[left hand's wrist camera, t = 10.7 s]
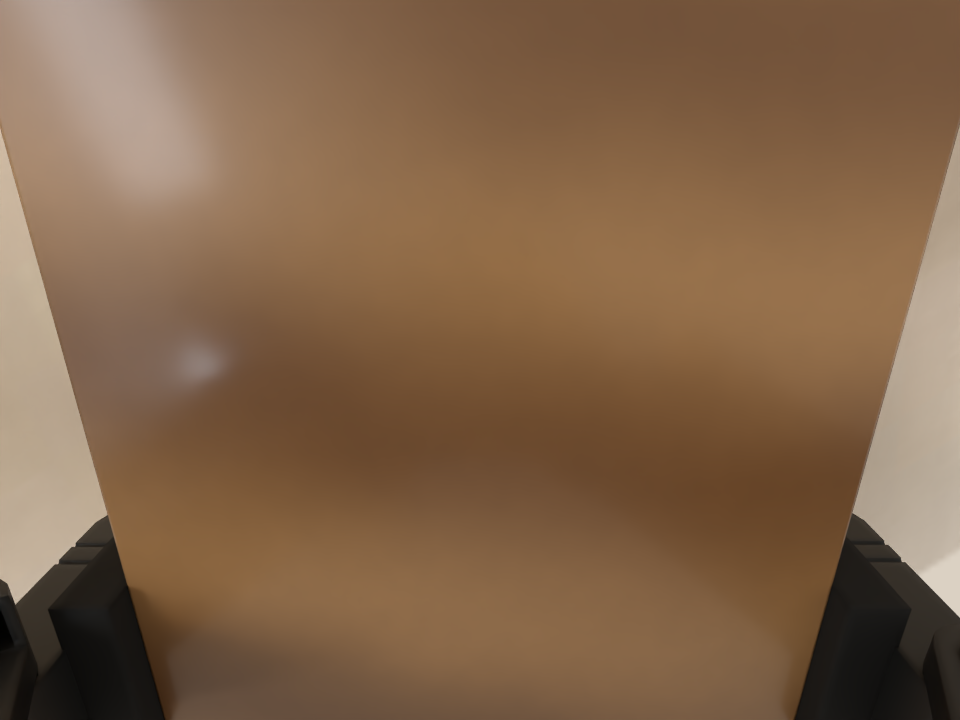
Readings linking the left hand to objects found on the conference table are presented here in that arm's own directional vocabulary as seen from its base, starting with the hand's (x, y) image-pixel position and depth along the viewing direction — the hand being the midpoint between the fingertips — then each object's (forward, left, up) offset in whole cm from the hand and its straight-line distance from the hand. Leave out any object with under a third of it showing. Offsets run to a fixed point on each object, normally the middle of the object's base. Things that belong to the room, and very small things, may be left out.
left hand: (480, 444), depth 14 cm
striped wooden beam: (+23, +10, -1) cm, 25 cm away
